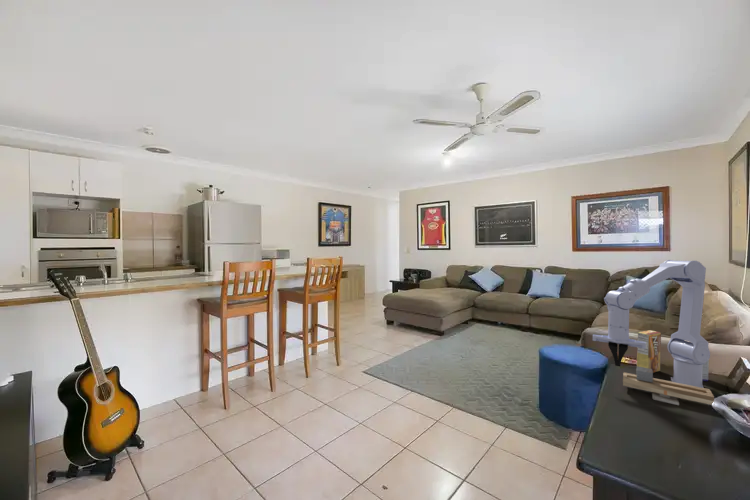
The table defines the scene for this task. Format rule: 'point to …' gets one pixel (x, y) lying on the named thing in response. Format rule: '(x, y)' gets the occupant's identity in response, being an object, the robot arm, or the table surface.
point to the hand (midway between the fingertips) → (617, 365)
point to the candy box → (649, 350)
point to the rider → (644, 374)
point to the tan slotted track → (669, 390)
